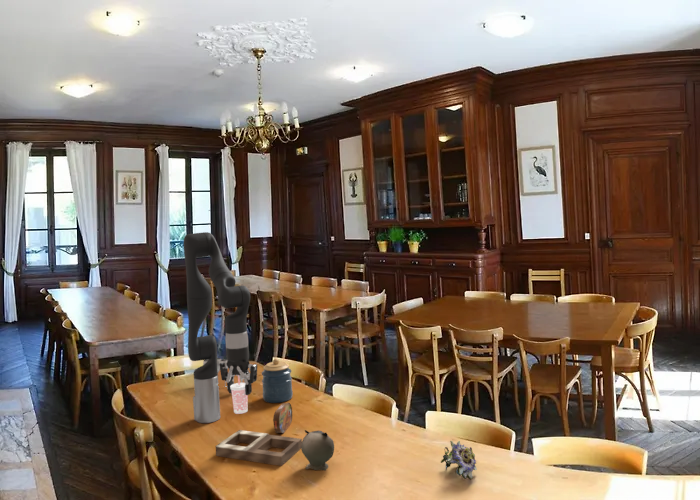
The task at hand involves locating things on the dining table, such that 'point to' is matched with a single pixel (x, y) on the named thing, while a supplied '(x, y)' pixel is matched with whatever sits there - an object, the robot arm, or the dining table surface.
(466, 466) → the passion flower
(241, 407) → the beverage cup
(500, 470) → the dining table surface
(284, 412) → the tin
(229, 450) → the pocket rack
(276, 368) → the canister
